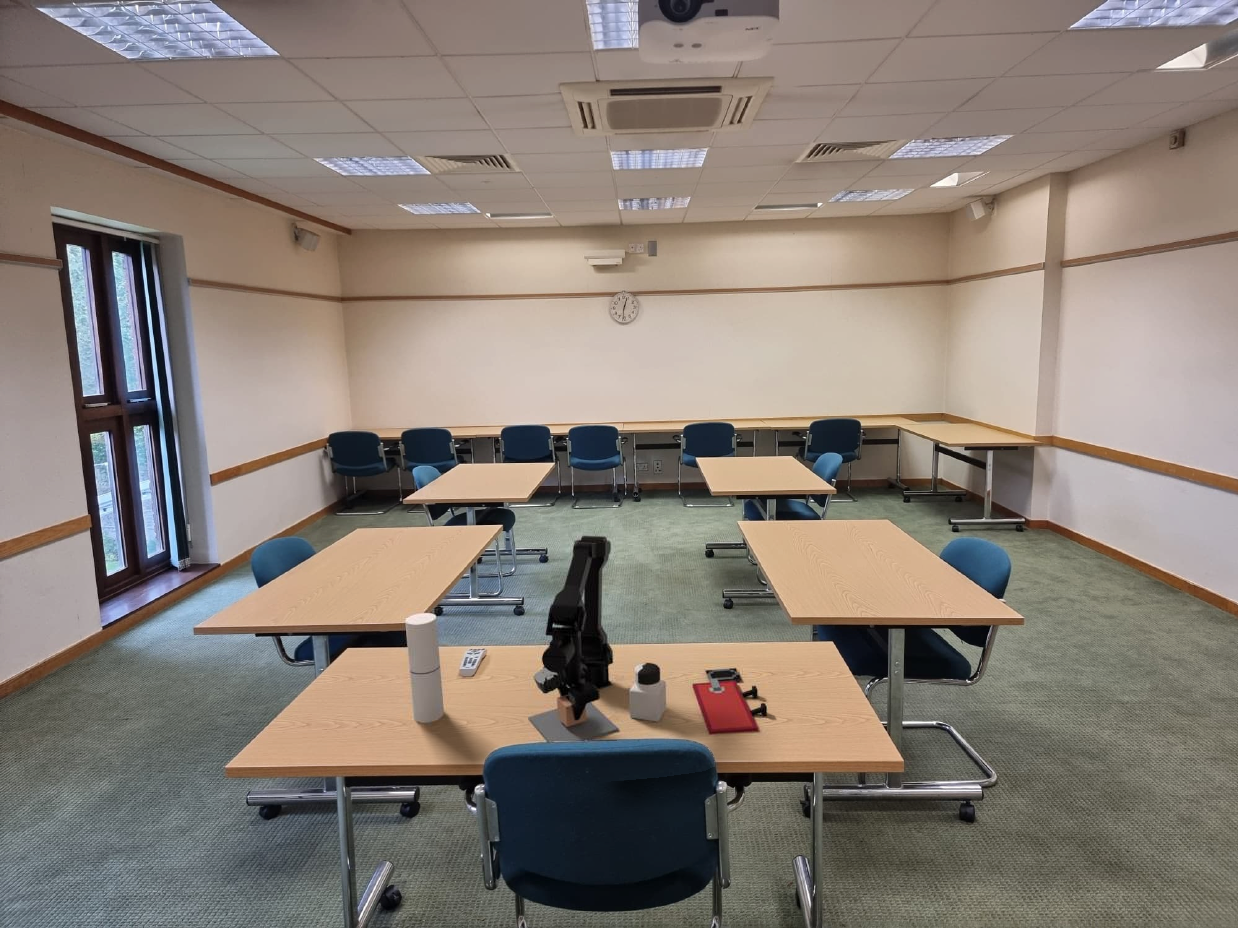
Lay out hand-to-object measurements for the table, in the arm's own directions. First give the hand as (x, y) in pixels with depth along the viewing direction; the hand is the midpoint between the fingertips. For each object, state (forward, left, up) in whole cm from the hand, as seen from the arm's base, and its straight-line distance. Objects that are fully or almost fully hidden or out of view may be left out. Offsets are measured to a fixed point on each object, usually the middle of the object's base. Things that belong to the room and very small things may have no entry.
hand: (572, 714), depth 166 cm
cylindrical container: (+28, -23, -3) cm, 36 cm away
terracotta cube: (0, 0, -1) cm, 1 cm away
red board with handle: (-38, +10, -3) cm, 39 cm away
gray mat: (0, 0, -2) cm, 2 cm away
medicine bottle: (-18, +5, -3) cm, 19 cm away
